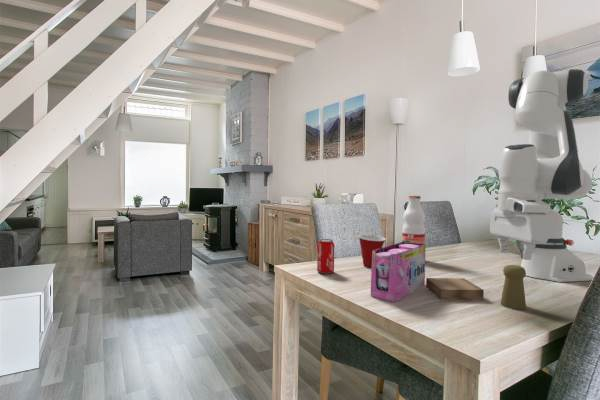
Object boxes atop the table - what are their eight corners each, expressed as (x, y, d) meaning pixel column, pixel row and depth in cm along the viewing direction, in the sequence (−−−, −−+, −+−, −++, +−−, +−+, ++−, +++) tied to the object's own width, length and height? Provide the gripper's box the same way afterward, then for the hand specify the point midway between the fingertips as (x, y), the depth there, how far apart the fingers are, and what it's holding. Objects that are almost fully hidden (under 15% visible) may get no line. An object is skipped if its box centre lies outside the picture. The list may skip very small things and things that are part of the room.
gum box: (393, 304, 95) (394, 254, 94) (367, 297, 100) (368, 251, 99) (425, 285, 113) (426, 243, 112) (402, 280, 118) (403, 241, 118)
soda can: (331, 275, 124) (331, 242, 123) (314, 273, 126) (315, 241, 125) (335, 271, 130) (336, 239, 129) (319, 269, 132) (320, 238, 131)
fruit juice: (427, 260, 150) (429, 195, 149) (419, 264, 143) (421, 196, 141) (406, 257, 156) (408, 195, 155) (398, 260, 149) (399, 195, 147)
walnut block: (463, 287, 110) (464, 278, 110) (483, 300, 98) (483, 289, 98) (426, 287, 110) (426, 277, 110) (440, 299, 98) (441, 289, 98)
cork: (531, 308, 92) (533, 267, 92) (514, 310, 90) (515, 268, 90) (512, 301, 98) (513, 262, 97) (495, 303, 96) (496, 263, 96)
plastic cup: (382, 270, 131) (382, 239, 131) (354, 267, 136) (354, 237, 135) (387, 264, 141) (388, 235, 141) (361, 262, 146) (362, 233, 145)
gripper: (484, 202, 103) (483, 249, 104) (529, 206, 83) (527, 263, 83) (506, 203, 103) (504, 249, 104) (555, 206, 83) (553, 264, 83)
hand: (514, 255), depth 93 cm, fingers open, 8 cm apart
